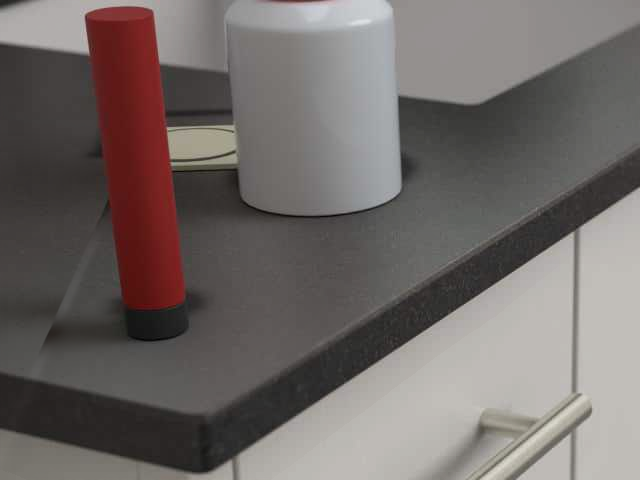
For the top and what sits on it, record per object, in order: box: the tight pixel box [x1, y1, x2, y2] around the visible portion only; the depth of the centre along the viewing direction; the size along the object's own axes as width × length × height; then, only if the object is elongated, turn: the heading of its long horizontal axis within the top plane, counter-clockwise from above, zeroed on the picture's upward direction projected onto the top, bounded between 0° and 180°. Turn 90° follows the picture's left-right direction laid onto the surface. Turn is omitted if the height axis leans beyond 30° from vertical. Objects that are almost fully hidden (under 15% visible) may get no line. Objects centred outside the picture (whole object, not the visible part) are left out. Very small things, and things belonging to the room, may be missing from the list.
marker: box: [84, 5, 190, 341], centre depth 61 cm, size 2×2×12 cm
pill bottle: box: [223, 0, 403, 217], centre depth 76 cm, size 8×8×11 cm
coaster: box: [167, 124, 238, 172], centre depth 85 cm, size 8×7×1 cm
